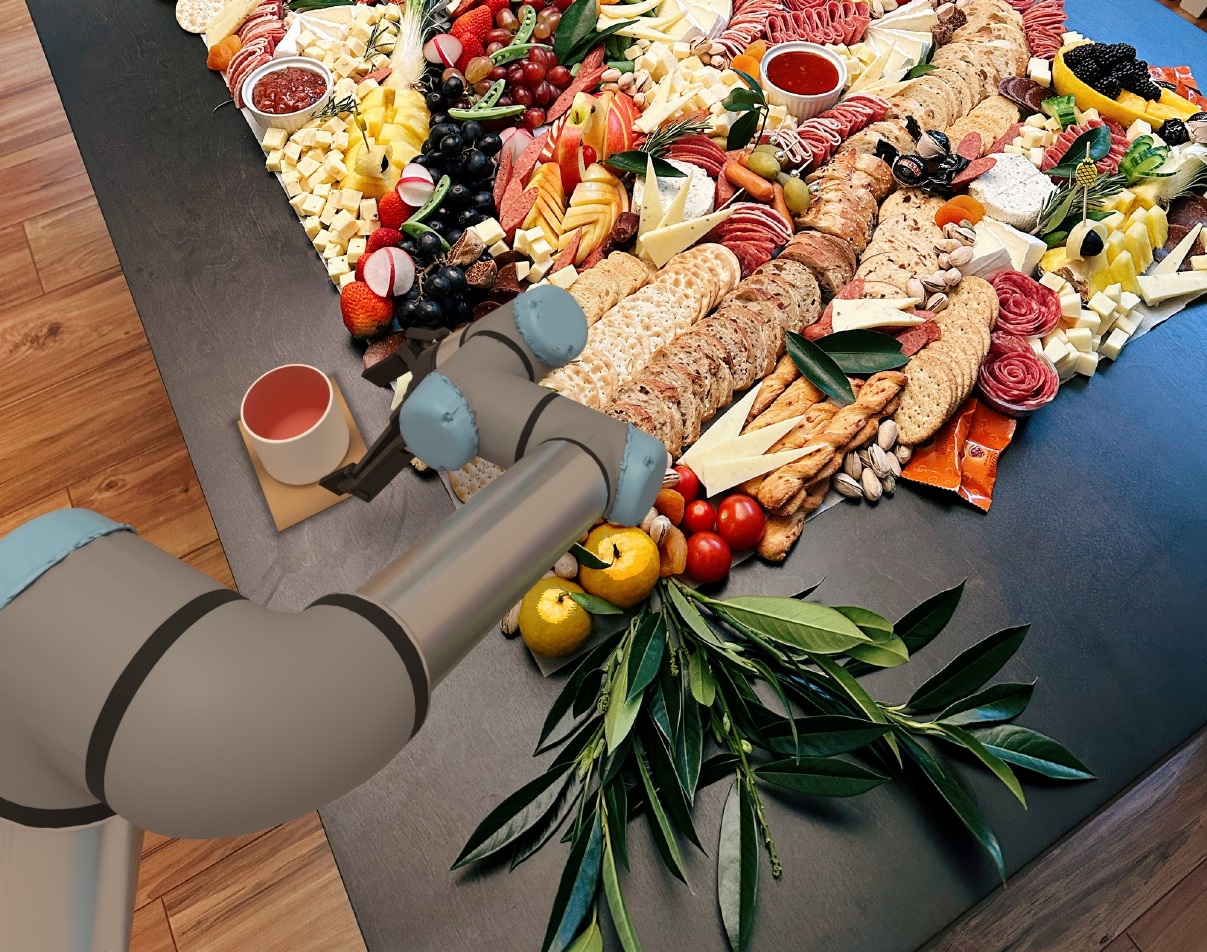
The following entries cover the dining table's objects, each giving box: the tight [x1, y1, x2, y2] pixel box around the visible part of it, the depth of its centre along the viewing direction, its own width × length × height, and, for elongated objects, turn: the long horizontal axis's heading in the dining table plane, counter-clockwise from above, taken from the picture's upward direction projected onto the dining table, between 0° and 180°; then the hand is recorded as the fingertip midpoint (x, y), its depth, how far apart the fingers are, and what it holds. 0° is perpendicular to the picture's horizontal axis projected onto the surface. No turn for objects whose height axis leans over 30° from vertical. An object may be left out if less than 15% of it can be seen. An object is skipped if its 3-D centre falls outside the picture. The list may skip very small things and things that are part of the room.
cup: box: [240, 363, 349, 485], centre depth 128 cm, size 10×10×10 cm
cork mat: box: [236, 376, 369, 533], centre depth 132 cm, size 16×12×1 cm
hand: (351, 431), depth 127 cm, fingers open, 13 cm apart
